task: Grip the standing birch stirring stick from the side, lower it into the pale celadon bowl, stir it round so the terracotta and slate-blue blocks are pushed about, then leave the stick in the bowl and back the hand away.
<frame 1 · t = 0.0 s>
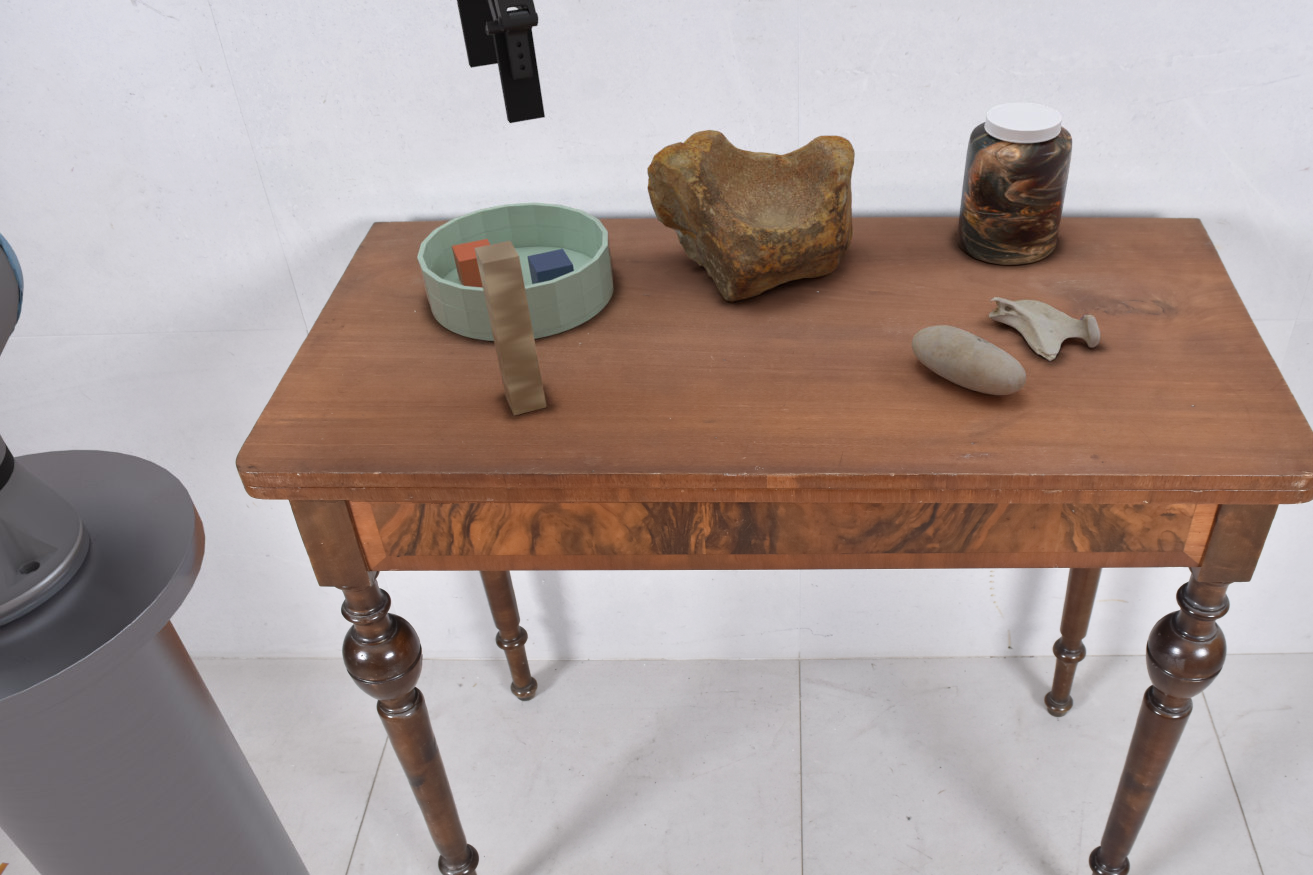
hand: (505, 90, 86), 29 cm above the table, tool pointing down, fingers open, 13 cm apart
slate block: (555, 293, 118), point 1 cm above the table, touching bowl
rough brown rock: (756, 278, 121), on the table
stone: (965, 383, 105), on the table
bowl: (523, 293, 120), on the table
terracotta block: (480, 282, 120), point 1 cm above the table, touching bowl
fossil: (1043, 336, 111), on the table
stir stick: (526, 402, 103), on the table
jar: (1005, 243, 127), on the table
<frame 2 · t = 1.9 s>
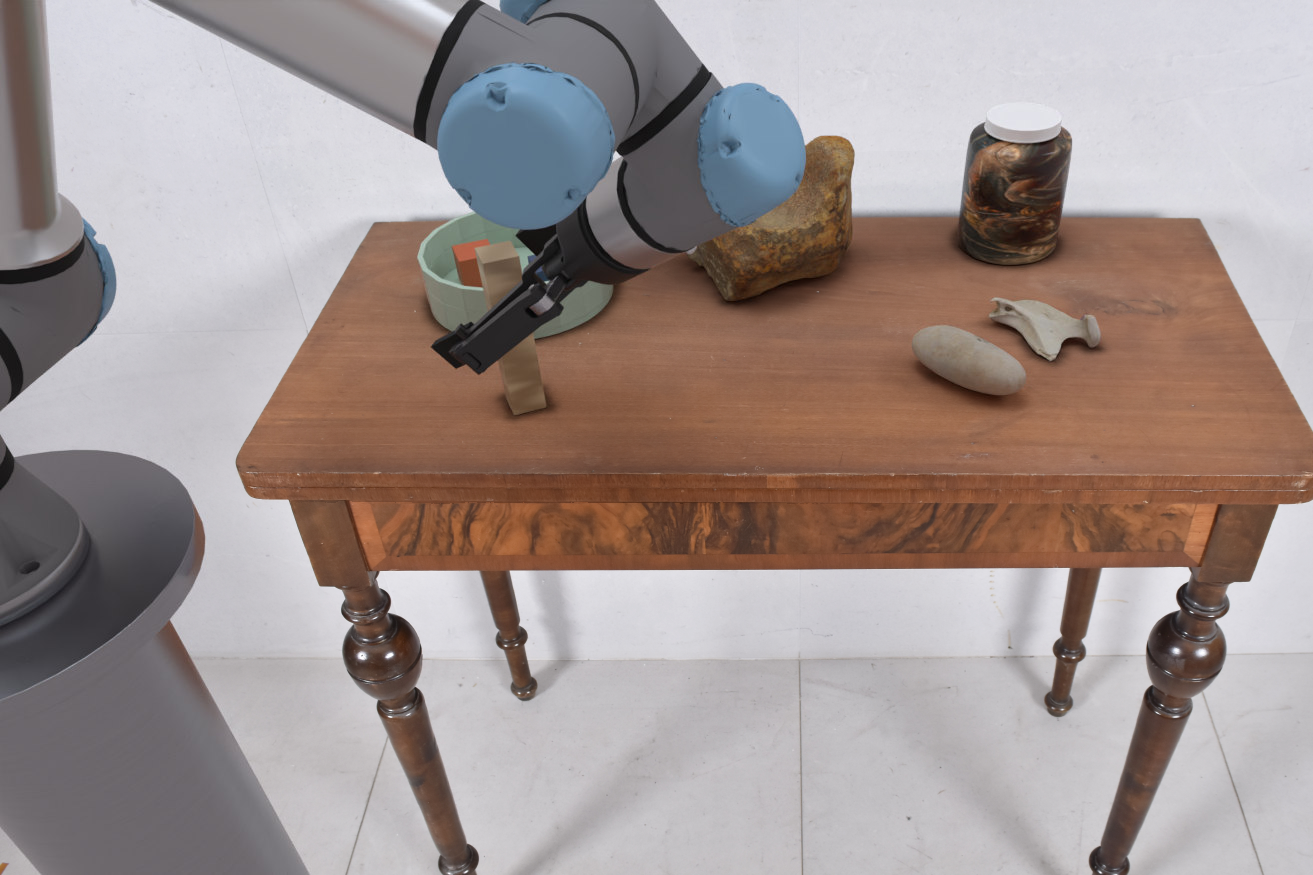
hand: (488, 297, 92), 14 cm above the table, tool tilted 55°, fingers open, 13 cm apart
nothing on the table moved.
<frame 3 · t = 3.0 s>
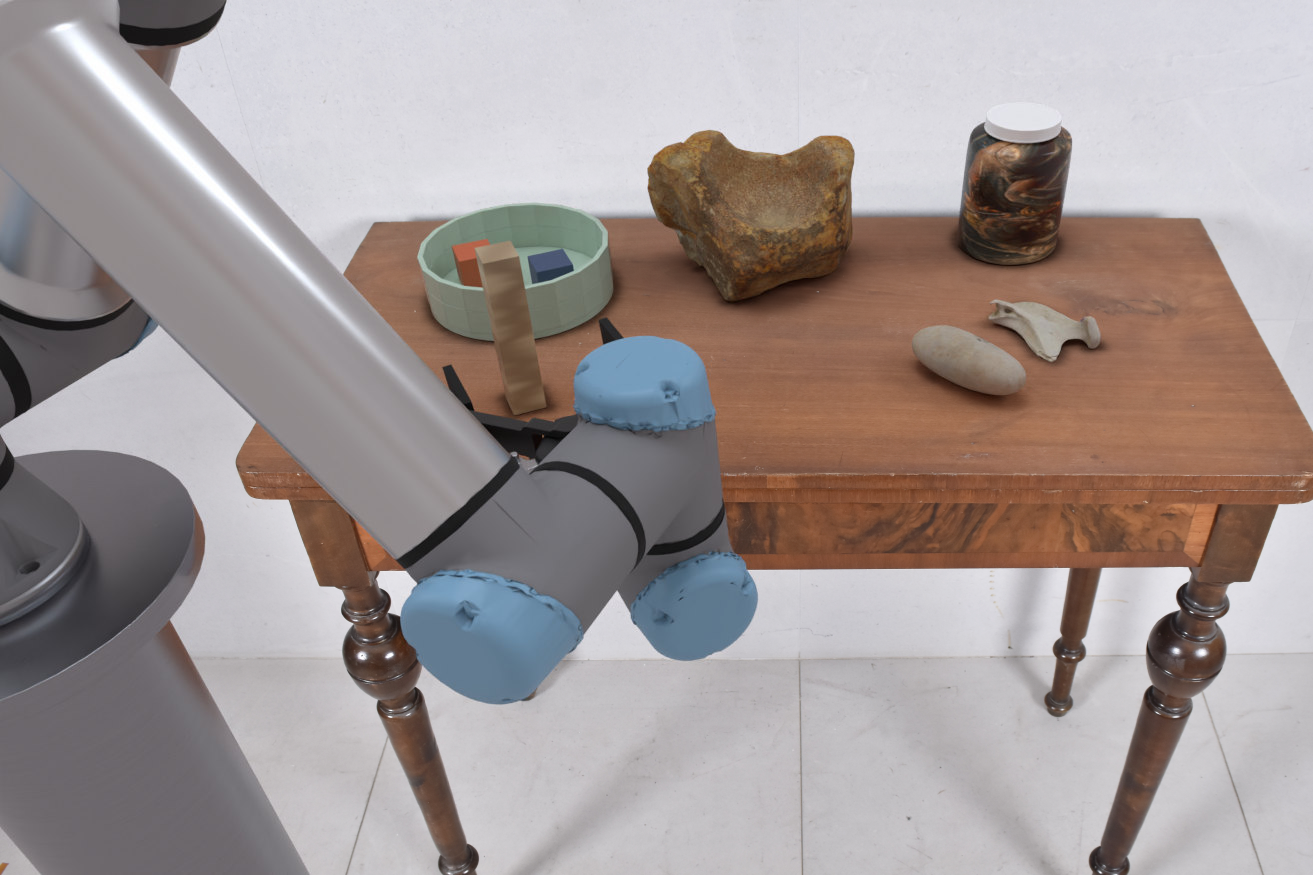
hand: (529, 355, 90), 11 cm above the table, tool horizontal, fingers open, 13 cm apart
nothing on the table moved.
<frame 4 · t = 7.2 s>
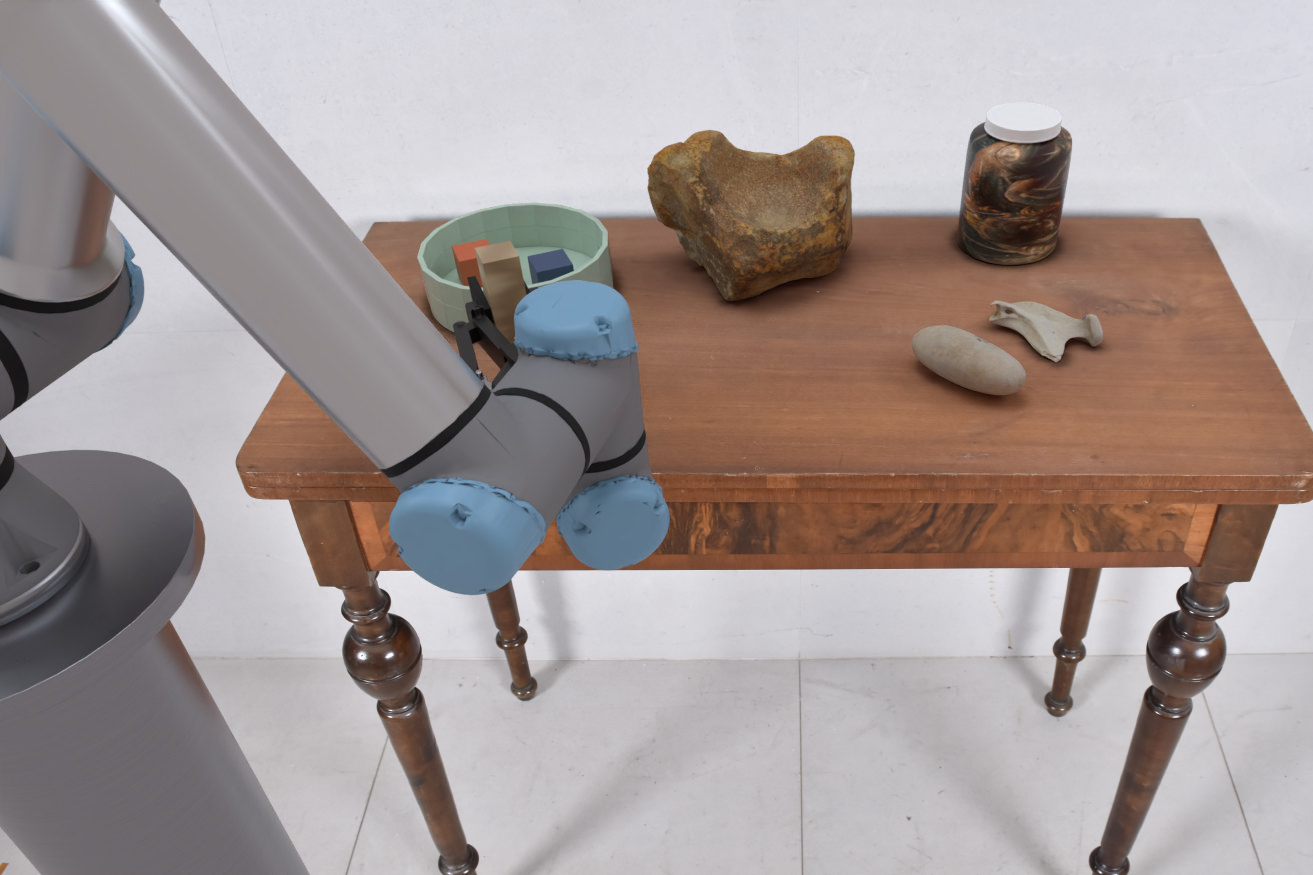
hand: (494, 285, 101), 10 cm above the table, tool horizontal, fingers closed on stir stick, 3 cm apart
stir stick: (526, 402, 103), on the table, touching gripper
everything else where it was.
when the fingers open (10 cm above the table, at t = 21.8 s): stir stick stays where it is, resting on bowl.
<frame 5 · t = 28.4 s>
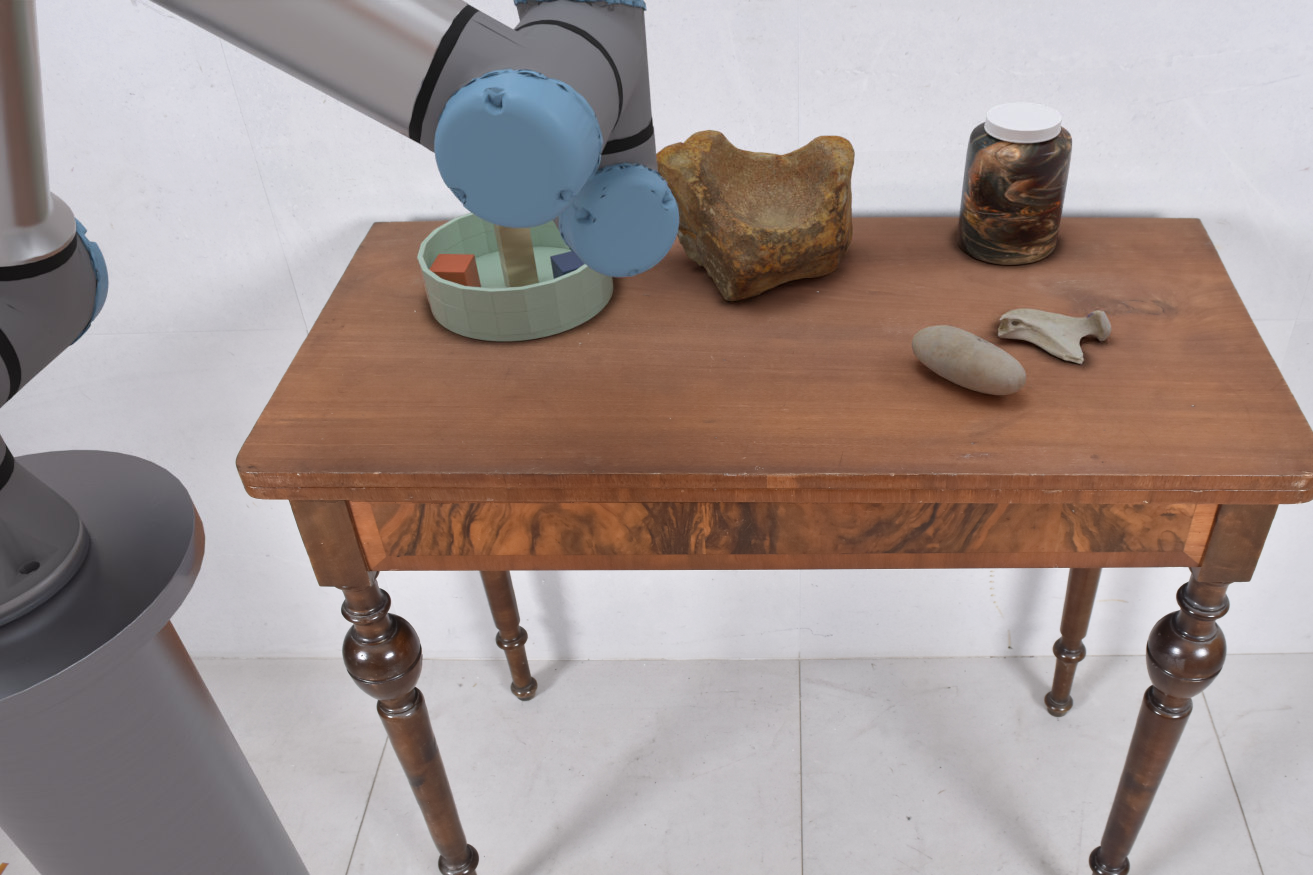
hand: (498, 61, 95), 28 cm above the table, tool horizontal, fingers open, 13 cm apart
slate block: (578, 292, 118), point 1 cm above the table, touching bowl
terracotta block: (458, 295, 118), point 1 cm above the table, touching bowl
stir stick: (522, 287, 119), point 1 cm above the table, touching bowl
at the end: terracotta block moved 3.4 cm from its start; slate block moved 2.6 cm from its start; slate block inside the target area in the bowl (6.7 cm from its centre), point 0.8 cm above the bowl's base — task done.
